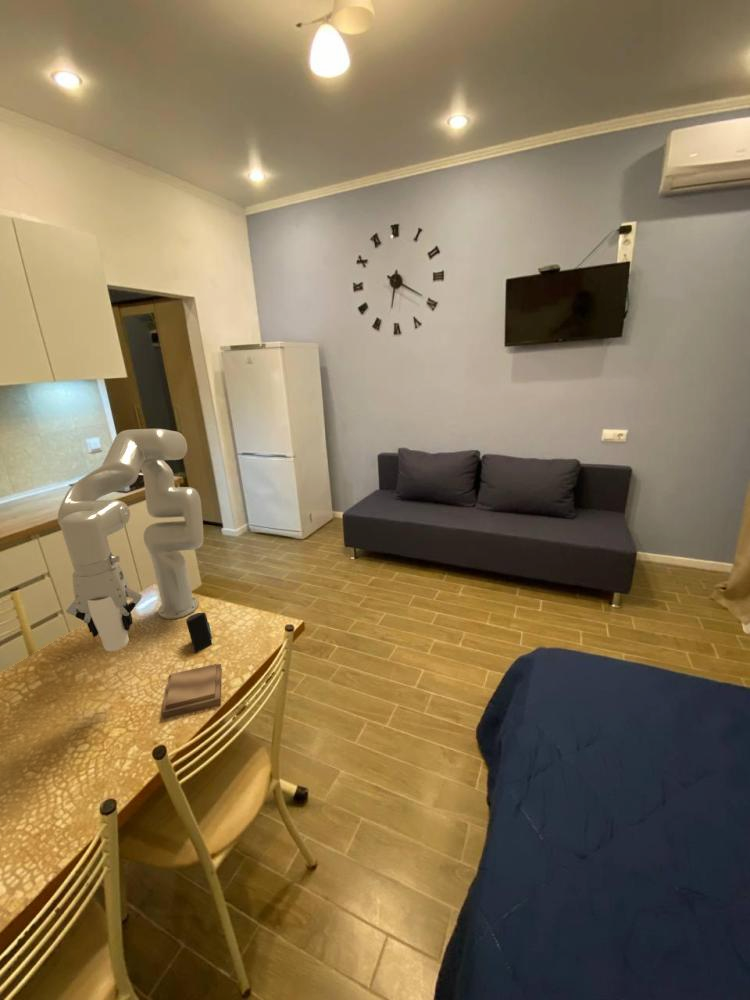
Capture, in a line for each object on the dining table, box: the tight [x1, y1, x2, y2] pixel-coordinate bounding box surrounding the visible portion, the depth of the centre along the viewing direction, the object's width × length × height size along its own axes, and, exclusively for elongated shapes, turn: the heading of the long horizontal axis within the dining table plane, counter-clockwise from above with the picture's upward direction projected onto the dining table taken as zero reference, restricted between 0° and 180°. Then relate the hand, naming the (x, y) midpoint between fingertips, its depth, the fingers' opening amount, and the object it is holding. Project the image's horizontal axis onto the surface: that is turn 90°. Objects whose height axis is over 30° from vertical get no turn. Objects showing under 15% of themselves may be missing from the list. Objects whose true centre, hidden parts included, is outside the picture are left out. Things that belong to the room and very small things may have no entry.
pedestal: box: [161, 663, 223, 720], centre depth 107 cm, size 13×13×3 cm
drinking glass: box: [88, 596, 130, 652], centre depth 101 cm, size 7×7×15 cm
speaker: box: [185, 612, 213, 654], centre depth 125 cm, size 8×6×10 cm
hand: (112, 629), depth 102 cm, fingers closed on drinking glass, 6 cm apart
